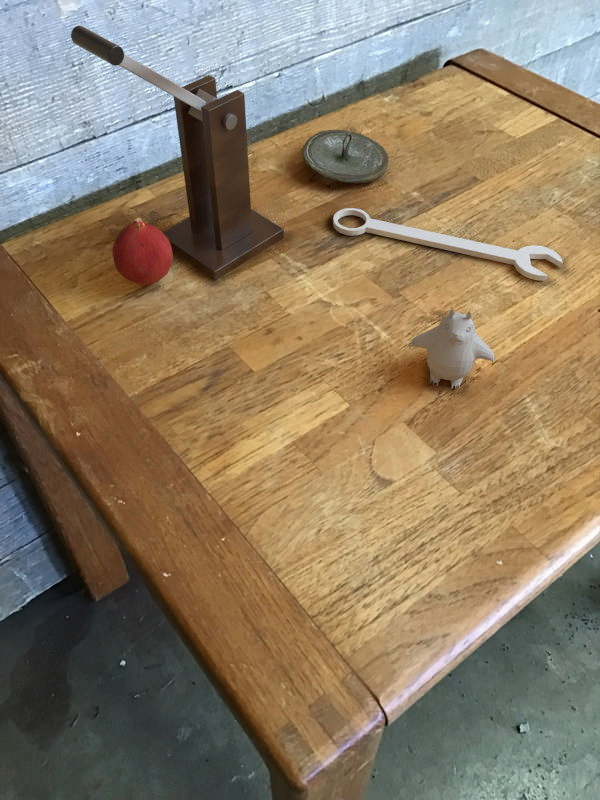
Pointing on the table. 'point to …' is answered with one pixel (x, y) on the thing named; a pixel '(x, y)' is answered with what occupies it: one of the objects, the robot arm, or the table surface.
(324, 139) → the lid
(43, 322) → the table surface
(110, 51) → the silver and black bar
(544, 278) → the wrench
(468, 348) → the figurine
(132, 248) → the onion
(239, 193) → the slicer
